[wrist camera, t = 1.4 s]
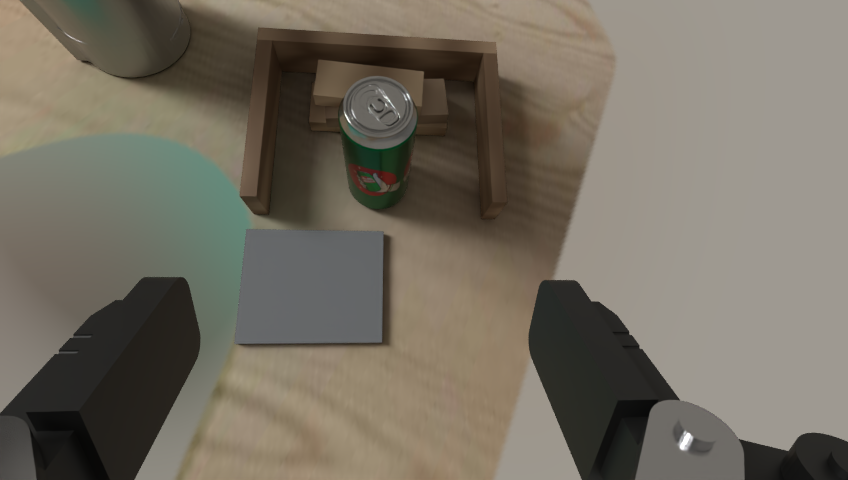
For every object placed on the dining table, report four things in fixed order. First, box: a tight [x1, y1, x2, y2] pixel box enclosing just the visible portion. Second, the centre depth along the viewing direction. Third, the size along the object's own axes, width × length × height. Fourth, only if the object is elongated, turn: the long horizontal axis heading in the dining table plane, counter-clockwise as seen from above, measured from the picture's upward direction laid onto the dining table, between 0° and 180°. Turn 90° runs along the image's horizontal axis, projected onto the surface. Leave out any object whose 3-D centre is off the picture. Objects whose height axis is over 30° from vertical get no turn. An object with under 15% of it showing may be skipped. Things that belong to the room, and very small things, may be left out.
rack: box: [240, 28, 508, 219], centre depth 38 cm, size 20×15×4 cm
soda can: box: [338, 76, 418, 209], centre depth 32 cm, size 5×5×12 cm
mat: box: [234, 229, 383, 344], centre depth 35 cm, size 11×9×1 cm
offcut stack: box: [309, 59, 449, 136], centre depth 38 cm, size 12×5×4 cm, turn 90°
